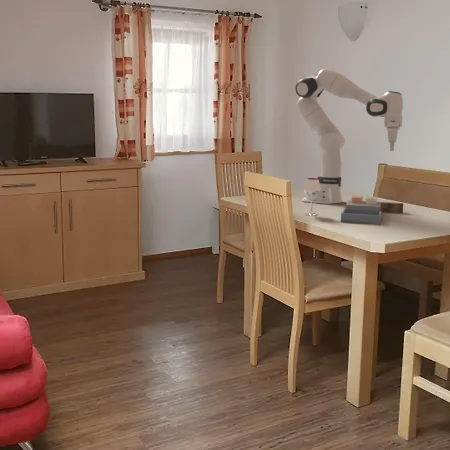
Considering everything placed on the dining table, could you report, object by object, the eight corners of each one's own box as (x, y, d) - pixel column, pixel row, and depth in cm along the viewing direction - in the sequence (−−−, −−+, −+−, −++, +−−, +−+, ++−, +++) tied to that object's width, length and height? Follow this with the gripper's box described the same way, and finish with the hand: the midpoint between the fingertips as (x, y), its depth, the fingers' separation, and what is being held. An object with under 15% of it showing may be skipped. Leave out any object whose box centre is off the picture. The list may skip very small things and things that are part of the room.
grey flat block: (345, 216, 301) (346, 204, 299) (348, 211, 314) (348, 200, 312) (378, 218, 296) (379, 206, 295) (380, 213, 309) (380, 202, 308)
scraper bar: (374, 212, 315) (375, 202, 314) (374, 211, 318) (375, 201, 317) (402, 213, 312) (403, 204, 311) (402, 212, 314) (403, 203, 313)
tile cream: (365, 203, 304) (366, 198, 303) (366, 201, 309) (366, 197, 308) (376, 204, 303) (376, 199, 302) (376, 202, 307) (376, 197, 307)
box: (340, 221, 289) (341, 213, 288) (343, 216, 301) (343, 208, 300) (379, 224, 284) (380, 215, 283) (380, 219, 296) (381, 211, 295)
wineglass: (301, 212, 309) (303, 177, 305) (318, 213, 309) (319, 177, 306) (304, 216, 301) (305, 179, 297) (320, 216, 301) (322, 180, 298)
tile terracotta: (351, 202, 306) (351, 197, 305) (352, 201, 311) (352, 196, 310) (361, 203, 304) (362, 198, 304) (362, 201, 309) (362, 196, 309)
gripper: (387, 122, 325) (386, 148, 328) (386, 123, 306) (385, 151, 308) (399, 122, 323) (398, 148, 326) (399, 123, 304) (398, 151, 307)
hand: (391, 150), depth 317 cm, fingers open, 8 cm apart
